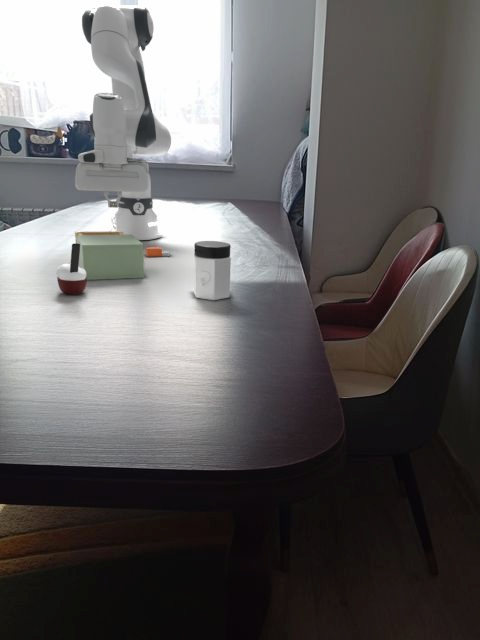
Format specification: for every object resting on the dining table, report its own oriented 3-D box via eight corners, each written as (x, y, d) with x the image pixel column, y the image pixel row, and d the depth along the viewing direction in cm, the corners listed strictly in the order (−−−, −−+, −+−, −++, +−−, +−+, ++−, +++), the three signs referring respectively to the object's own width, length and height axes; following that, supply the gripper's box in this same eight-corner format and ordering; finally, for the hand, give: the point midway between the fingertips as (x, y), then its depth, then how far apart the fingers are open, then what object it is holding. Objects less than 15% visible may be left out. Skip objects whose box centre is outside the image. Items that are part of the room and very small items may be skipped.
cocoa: (61, 287, 119) (56, 235, 115) (89, 287, 120) (86, 236, 116) (54, 299, 110) (49, 243, 106) (85, 299, 112) (81, 243, 107)
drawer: (75, 252, 152) (73, 229, 150) (121, 251, 158) (120, 228, 155) (81, 265, 137) (79, 239, 135) (132, 263, 143) (131, 239, 140)
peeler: (147, 256, 157) (147, 249, 156) (145, 254, 159) (145, 247, 158) (170, 256, 159) (170, 248, 158) (167, 254, 162) (167, 246, 161)
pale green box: (78, 267, 139) (76, 235, 136) (133, 265, 145) (132, 234, 142) (84, 280, 127) (82, 245, 123) (144, 277, 132) (143, 244, 129)
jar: (186, 296, 118) (186, 244, 113) (201, 288, 125) (201, 239, 121) (222, 302, 116) (224, 248, 111) (235, 293, 123) (237, 243, 118)
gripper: (147, 158, 150) (148, 207, 155) (73, 154, 144) (77, 205, 149) (149, 159, 145) (150, 209, 150) (72, 155, 139) (76, 207, 144)
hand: (113, 207), depth 149 cm, fingers closed
